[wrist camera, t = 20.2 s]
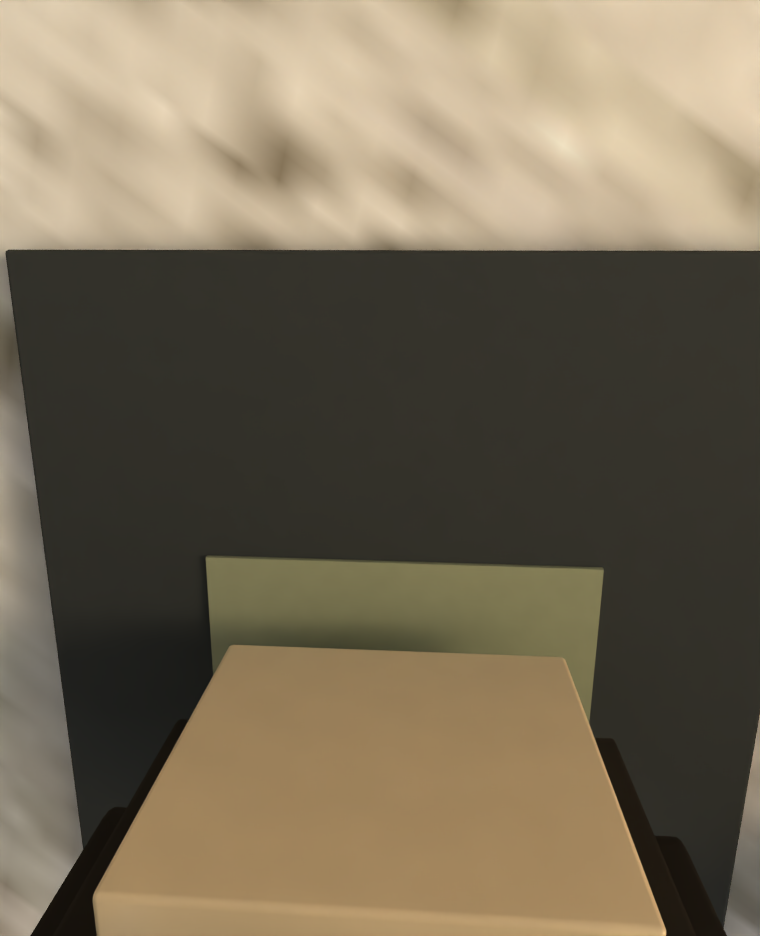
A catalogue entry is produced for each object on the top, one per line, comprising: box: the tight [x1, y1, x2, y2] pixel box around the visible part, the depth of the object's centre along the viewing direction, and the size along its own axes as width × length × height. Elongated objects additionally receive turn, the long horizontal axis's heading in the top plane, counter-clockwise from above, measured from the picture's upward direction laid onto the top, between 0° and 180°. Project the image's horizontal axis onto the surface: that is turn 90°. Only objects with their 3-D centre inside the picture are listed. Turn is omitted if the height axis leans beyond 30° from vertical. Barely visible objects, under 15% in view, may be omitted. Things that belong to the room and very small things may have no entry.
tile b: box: [93, 645, 666, 936], centre depth 9 cm, size 5×5×5 cm
